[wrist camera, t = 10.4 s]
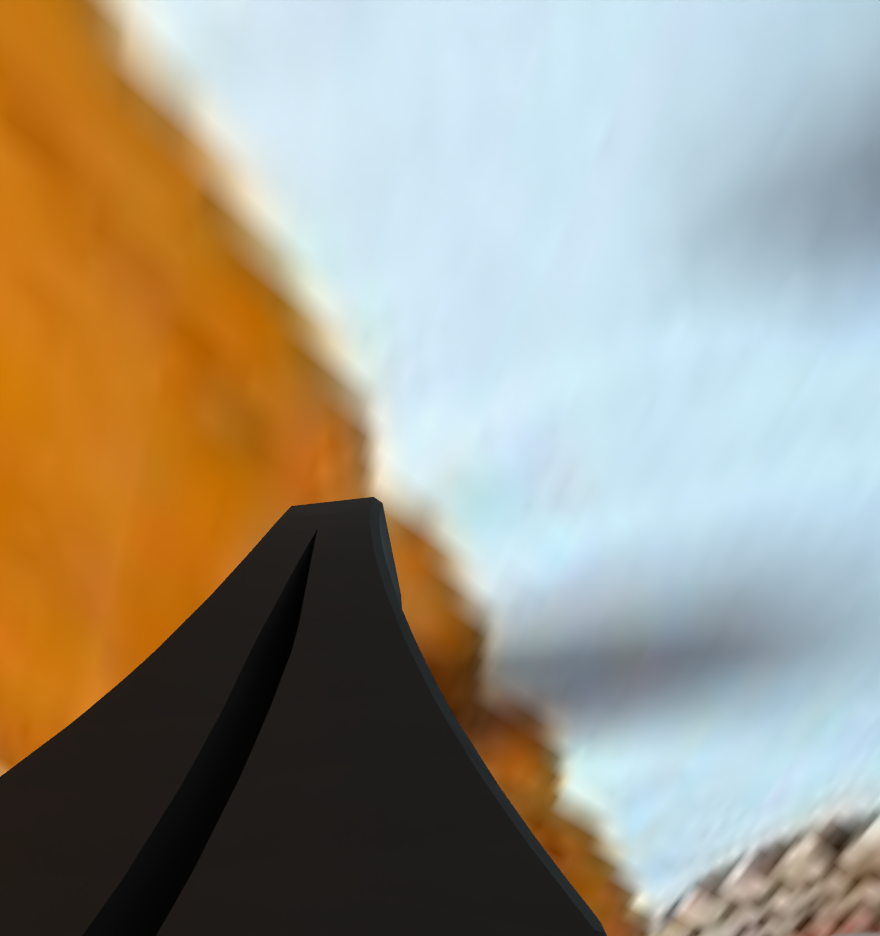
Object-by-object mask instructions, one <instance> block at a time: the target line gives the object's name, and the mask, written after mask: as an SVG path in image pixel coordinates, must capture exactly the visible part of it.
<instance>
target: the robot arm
mask: <svg viewBox="0 0 880 936" xmlns="http://www.w3.org/2000/svg"><path fill="white" fill-rule="evenodd" d="M0 936H607V935H606V933H605V931H604V929H603V926H602V924H601V923H600V921H599V920H598V918H597V917H596V916H595V914H594V913H593V912H592V910H591V909H590V908H589V907H588V905H587V904H586V903H585V902H584V900H583V899H582V898H581V896H580V895H579V894H578V893H577V891H576V890H575V889H574V888H573V886H572V885H571V884H570V883H569V881H568V880H567V879H566V877H565V876H564V875H563V874H562V872H561V871H560V870H559V868H558V867H557V866H556V864H555V863H554V862H553V860H552V859H551V858H550V856H549V855H548V854H547V852H546V851H545V850H544V848H543V847H542V846H541V844H540V843H539V842H538V840H537V839H536V838H535V836H534V835H533V834H532V832H531V831H530V829H529V828H528V827H527V825H526V824H525V822H524V821H523V820H522V818H521V817H520V815H519V814H518V812H517V811H516V810H515V808H514V807H513V805H512V804H511V803H510V801H509V800H508V798H507V797H506V795H505V794H504V793H503V791H502V790H501V788H500V787H499V785H498V784H497V782H496V781H495V779H494V778H493V776H492V774H491V773H490V771H489V770H488V768H487V767H486V765H485V763H484V762H483V760H482V759H481V757H480V756H479V754H478V752H477V751H476V749H475V748H474V746H473V745H472V743H471V741H470V740H469V738H468V737H467V735H466V734H465V732H464V730H463V729H462V727H461V726H460V724H459V723H458V721H457V719H456V717H455V716H454V714H453V712H452V710H451V709H450V707H449V705H448V703H447V701H446V700H445V698H444V696H443V694H442V693H441V691H440V689H439V687H438V685H437V683H436V681H435V679H434V677H433V676H432V674H431V672H430V670H429V668H428V666H427V664H426V662H425V660H424V658H423V656H422V654H421V652H420V650H419V647H418V645H417V643H416V641H415V639H414V636H413V634H412V632H411V630H410V627H409V625H408V622H407V620H406V618H405V615H404V613H403V610H402V603H401V593H400V588H399V583H398V578H397V573H396V568H395V563H394V558H393V553H392V548H391V543H390V538H389V533H388V528H387V523H386V519H385V514H384V509H383V504H382V502H380V501H379V500H377V499H376V498H374V497H369V498H360V499H351V500H342V501H333V502H324V503H316V504H307V505H298V506H291V507H290V508H289V509H288V510H287V511H286V512H285V513H284V515H283V516H282V517H281V518H280V519H279V520H278V521H277V522H276V523H275V525H274V526H273V527H272V528H271V529H270V530H269V531H268V533H267V534H266V535H265V536H264V537H263V538H262V539H261V541H260V542H259V543H258V544H257V545H256V546H255V547H254V548H253V550H252V551H251V552H250V553H249V554H248V555H247V556H246V558H245V559H244V560H243V561H242V562H241V563H240V564H239V565H238V566H237V567H236V568H235V570H234V571H233V572H232V573H231V574H230V575H229V576H228V577H227V578H226V579H225V581H224V582H223V583H222V584H221V585H220V586H219V587H218V588H217V589H216V590H215V591H214V593H213V594H212V595H211V596H210V597H209V598H208V599H207V600H206V601H205V602H204V603H203V604H202V605H201V606H200V607H199V608H198V609H197V610H196V611H195V612H194V613H193V614H192V615H191V616H190V617H189V618H188V619H187V620H186V621H185V622H184V623H183V624H182V625H181V626H180V627H179V628H178V629H177V630H176V631H175V632H174V633H173V634H172V635H171V636H170V637H169V638H168V639H167V640H166V641H165V642H164V643H163V644H162V645H161V646H160V647H159V648H158V649H157V650H156V651H155V652H153V653H152V654H151V655H150V656H149V657H148V658H147V659H146V660H145V661H144V662H143V663H142V664H140V665H139V666H138V667H137V668H136V669H135V670H134V671H133V672H132V673H130V674H129V675H128V676H127V677H126V678H125V679H124V680H123V681H121V682H120V683H119V684H118V685H117V686H115V687H114V688H113V689H112V690H111V691H110V692H108V693H107V694H106V695H105V696H104V697H102V698H101V699H100V700H99V701H98V702H97V703H95V704H94V705H93V706H92V707H91V708H89V709H88V710H87V711H86V712H85V713H83V714H82V715H81V716H80V717H79V718H77V719H76V720H75V721H74V722H72V723H71V724H70V725H69V726H67V727H66V728H65V729H63V730H62V731H61V732H59V733H58V734H57V735H55V736H54V737H53V738H51V739H50V740H49V741H47V742H46V743H45V744H43V745H42V746H41V747H39V748H38V749H37V750H35V751H34V752H33V753H31V754H30V755H29V756H27V757H26V758H25V759H23V760H22V761H21V762H19V763H18V764H17V765H15V766H14V767H13V768H11V769H10V770H9V771H7V772H6V773H5V774H3V775H2V776H1V777H0Z"/></svg>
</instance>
